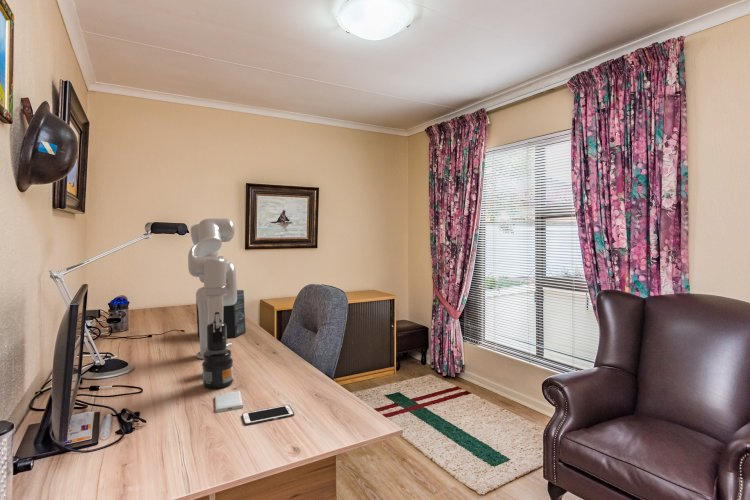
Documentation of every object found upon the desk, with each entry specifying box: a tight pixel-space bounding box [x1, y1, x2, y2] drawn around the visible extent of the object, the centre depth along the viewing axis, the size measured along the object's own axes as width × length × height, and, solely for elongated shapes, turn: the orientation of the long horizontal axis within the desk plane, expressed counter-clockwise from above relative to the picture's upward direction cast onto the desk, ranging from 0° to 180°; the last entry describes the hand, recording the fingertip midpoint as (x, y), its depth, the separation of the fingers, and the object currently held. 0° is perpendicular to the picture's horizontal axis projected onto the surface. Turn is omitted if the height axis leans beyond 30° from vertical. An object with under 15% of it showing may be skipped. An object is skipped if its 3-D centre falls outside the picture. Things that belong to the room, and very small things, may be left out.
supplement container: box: [201, 348, 234, 390], centre depth 151 cm, size 10×10×12 cm
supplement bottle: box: [207, 319, 228, 351], centre depth 150 cm, size 7×7×12 cm
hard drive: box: [214, 390, 244, 413], centre depth 135 cm, size 2×8×12 cm
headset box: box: [195, 289, 247, 338], centre depth 225 cm, size 22×12×26 cm, turn 81°
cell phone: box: [241, 404, 295, 426], centre depth 125 cm, size 8×15×1 cm, turn 115°
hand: (216, 339), depth 150 cm, fingers closed on supplement bottle, 6 cm apart
